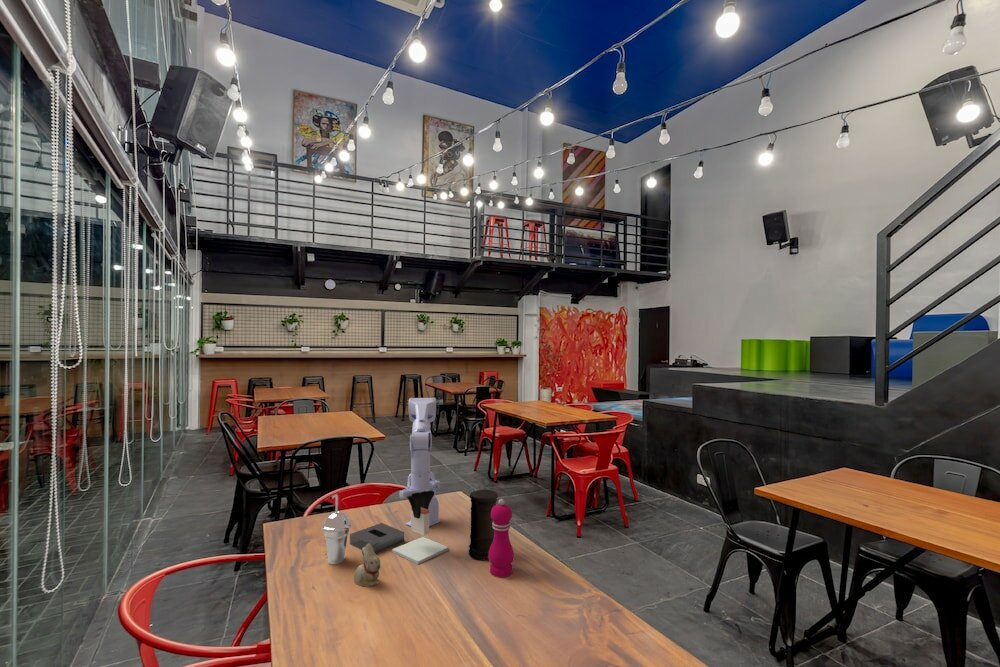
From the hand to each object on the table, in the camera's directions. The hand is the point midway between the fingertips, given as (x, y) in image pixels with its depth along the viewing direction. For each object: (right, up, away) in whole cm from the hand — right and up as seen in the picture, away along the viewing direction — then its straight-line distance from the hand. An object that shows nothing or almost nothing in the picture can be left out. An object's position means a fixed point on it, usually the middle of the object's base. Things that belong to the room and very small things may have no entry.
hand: (420, 516), depth 138 cm
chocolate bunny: (-11, -10, -18) cm, 24 cm away
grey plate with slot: (-15, -11, +5) cm, 19 cm away
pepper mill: (+25, -10, -13) cm, 30 cm away
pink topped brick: (0, -5, 0) cm, 5 cm away
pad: (0, -10, 0) cm, 10 cm away
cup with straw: (-23, -10, -7) cm, 27 cm away
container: (+20, -11, -2) cm, 22 cm away
